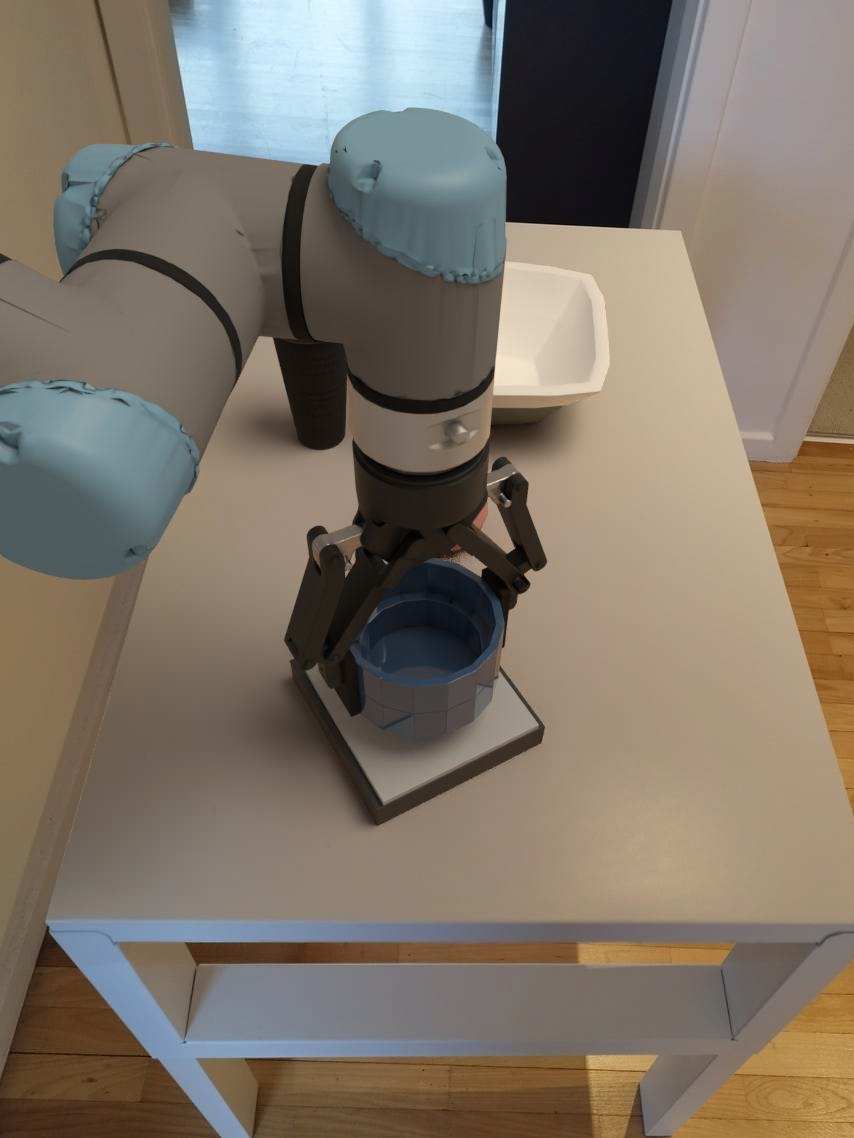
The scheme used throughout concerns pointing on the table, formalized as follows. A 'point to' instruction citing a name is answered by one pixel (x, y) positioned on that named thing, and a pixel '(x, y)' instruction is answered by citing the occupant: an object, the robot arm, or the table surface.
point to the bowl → (547, 342)
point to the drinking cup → (315, 389)
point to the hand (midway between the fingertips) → (421, 668)
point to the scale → (419, 746)
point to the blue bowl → (430, 651)
